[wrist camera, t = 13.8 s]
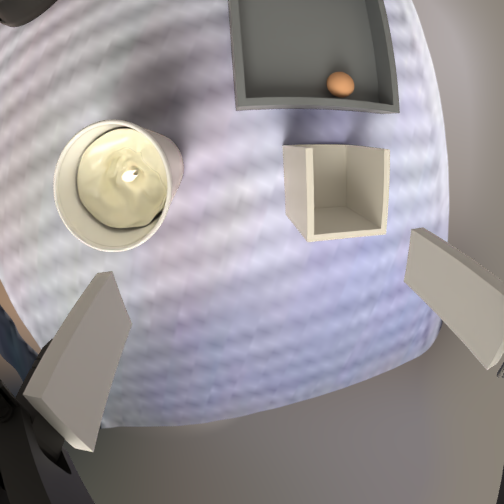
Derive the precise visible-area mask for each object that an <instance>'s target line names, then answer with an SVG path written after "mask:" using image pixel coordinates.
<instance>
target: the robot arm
mask: <svg viewBox="0 0 504 504" xmlns="http://www.w3.org/2000/svg"><path fill="white" fill-rule="evenodd" d="M56 1H57V0H0V23H2V24H4V25H7V26H10V27H18V26H21V25H24V24H26V23H28V22H30V21H32V20H33V19H35V18H36V17H38V16H39V15H41V14H42V13H43V12H44V11H46V10H47V9H48V8H49V7H50V6H51V5H53V4H54V3H55V2H56ZM404 282H405V283H406V284H407V285H408V286H409V287H410V288H411V289H412V290H413V291H414V292H415V293H416V294H417V295H418V296H419V297H420V298H421V299H422V300H423V301H424V302H425V303H426V304H427V305H428V306H429V307H430V308H431V309H432V310H433V311H434V312H435V313H436V314H437V315H438V316H439V317H440V318H441V319H442V320H443V321H444V322H445V323H446V324H447V325H448V327H450V329H451V330H452V331H453V332H454V333H455V334H456V335H457V336H458V337H459V339H460V340H461V341H462V342H463V343H464V344H465V345H466V346H467V348H469V350H470V351H471V352H472V353H473V354H474V356H475V357H476V358H477V359H478V360H479V361H480V363H481V364H482V365H483V366H484V367H485V369H486V370H488V369H489V368H491V367H492V366H494V365H495V364H497V363H498V362H499V360H500V358H501V357H502V355H503V353H504V282H503V281H502V280H500V279H499V278H498V277H497V276H495V275H494V274H493V273H491V272H490V271H488V270H487V269H486V268H484V267H483V266H481V265H480V264H479V263H477V262H476V261H474V260H473V259H471V258H470V257H468V256H467V255H466V254H464V253H463V252H461V251H460V250H458V249H456V248H455V247H454V246H452V245H450V244H449V243H447V242H446V241H444V240H443V239H441V238H439V237H438V236H436V235H435V234H433V233H431V232H430V231H428V230H426V229H425V228H416V229H411V236H410V245H409V252H408V259H407V266H406V272H405V277H404ZM131 326H132V322H131V320H130V318H129V315H128V313H127V310H126V308H125V305H124V302H123V300H122V297H121V294H120V292H119V289H118V286H117V283H116V281H115V278H114V275H113V272H112V271H110V272H103V273H97V274H96V276H95V277H94V278H93V280H92V281H91V282H90V284H89V285H88V287H87V288H86V289H85V291H84V292H83V294H82V295H81V297H80V298H79V299H78V301H77V302H76V304H75V305H74V307H73V308H72V310H71V311H70V313H69V314H68V316H67V317H66V319H65V321H64V322H63V324H62V325H61V327H60V328H59V330H58V332H57V333H56V335H55V337H54V338H53V339H51V340H50V341H49V342H48V343H47V344H46V345H45V346H44V347H43V348H42V350H41V352H40V353H39V355H38V357H37V360H35V362H34V364H33V365H32V369H30V371H29V373H28V374H27V376H26V378H25V380H24V382H23V384H22V386H21V388H20V390H19V392H18V394H17V396H16V398H15V397H14V396H13V394H12V393H11V392H10V391H9V389H8V388H7V387H6V386H5V384H4V383H3V382H2V381H1V380H0V504H95V503H94V501H93V500H92V498H91V496H90V495H89V493H88V491H87V489H86V488H85V486H84V484H83V482H82V480H81V478H80V476H79V475H78V473H77V471H76V469H75V467H74V465H73V462H72V460H71V458H70V456H69V454H68V452H67V451H66V449H65V448H64V447H63V443H64V439H65V440H66V441H67V442H68V443H70V444H71V445H72V446H73V447H74V448H76V449H81V450H86V451H91V452H94V448H95V443H96V439H97V435H98V431H99V427H100V423H101V420H102V416H103V412H104V409H105V405H106V402H107V398H108V395H109V391H110V388H111V385H112V382H113V378H114V375H115V372H116V369H117V366H118V363H119V360H120V357H121V354H122V351H123V348H124V345H125V342H126V340H127V337H128V334H129V331H130V329H131ZM503 370H504V363H503V365H502V366H501V368H500V370H499V371H498V373H497V377H499V376H500V375H501V373H502V372H503ZM502 378H504V374H503V376H502ZM496 504H504V467H503V475H502V480H501V485H500V490H499V495H498V499H497V503H496Z"/></svg>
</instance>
